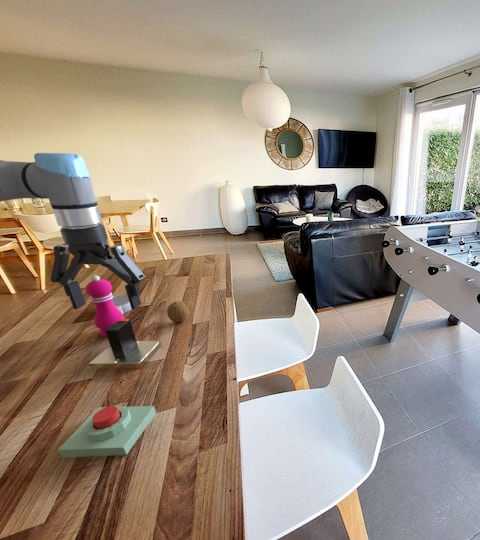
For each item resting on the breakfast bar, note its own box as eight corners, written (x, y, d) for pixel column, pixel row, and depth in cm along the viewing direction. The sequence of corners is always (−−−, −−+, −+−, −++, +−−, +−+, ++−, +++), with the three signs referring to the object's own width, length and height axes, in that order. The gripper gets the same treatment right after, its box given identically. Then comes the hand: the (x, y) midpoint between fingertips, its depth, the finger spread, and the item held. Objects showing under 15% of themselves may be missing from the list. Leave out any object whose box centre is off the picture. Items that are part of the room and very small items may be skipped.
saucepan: (133, 299, 114) (131, 291, 112) (142, 317, 102) (140, 308, 101) (98, 308, 107) (95, 299, 105) (103, 328, 95) (100, 319, 94)
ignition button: (89, 429, 57) (86, 422, 57) (105, 413, 61) (102, 406, 60) (111, 429, 58) (108, 421, 57) (124, 412, 61) (122, 405, 61)
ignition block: (61, 457, 56) (54, 443, 54) (100, 414, 65) (95, 401, 63) (126, 455, 57) (121, 441, 55) (156, 412, 66) (152, 399, 64)
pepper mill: (104, 327, 96) (85, 272, 88) (130, 324, 98) (114, 270, 91) (94, 339, 89) (73, 281, 82) (122, 335, 92) (104, 279, 84)
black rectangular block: (125, 357, 80) (115, 329, 76) (114, 357, 79) (104, 329, 76) (137, 345, 85) (129, 318, 81) (128, 345, 84) (119, 318, 81)
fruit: (179, 328, 97) (174, 307, 94) (165, 324, 99) (160, 304, 96) (194, 319, 103) (190, 299, 100) (181, 315, 104) (176, 296, 101)
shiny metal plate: (90, 369, 78) (88, 363, 77) (117, 346, 87) (115, 340, 86) (141, 368, 79) (139, 362, 78) (161, 346, 88) (160, 340, 87)
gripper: (149, 223, 70) (167, 299, 78) (38, 220, 68) (69, 299, 76) (128, 230, 63) (150, 313, 71) (5, 228, 61) (42, 314, 69)
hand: (108, 306), depth 74 cm, fingers open, 13 cm apart
